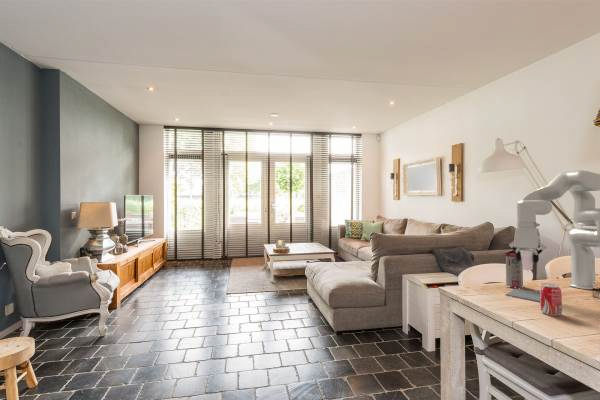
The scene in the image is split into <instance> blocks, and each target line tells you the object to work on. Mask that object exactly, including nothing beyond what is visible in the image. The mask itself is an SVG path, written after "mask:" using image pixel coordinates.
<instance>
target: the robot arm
mask: <svg viewBox="0 0 600 400" xmlns="http://www.w3.org/2000/svg"><path fill="white" fill-rule="evenodd" d="M568 191H569V192H570V195H571V196H572V197H573V214H572V215H573V216H572V217H573V218H572V219H573V223H574V224H575V225H578V226H582V227H574V228H572V229H570V230H569V231H568V235H567V237H568V242H569V246H570V262H571V263H570V264H571V265H570V268H571V270H570V271H571V272H570V273H571V281H569V282H567V285H568V286H569V287H573V288H575V289H576V288H577V289H582V290H590V289H591V290H590V291H593V290H592V289H593V284H594V282H595V283H596V256H595V252H594V250H593V249H592V248H598V249H599V248H600V208H599V207H598V208H597V207H596V198H595V196H594V194H592V193H591V192H592V191H593V192H599V191H600V174H599V173H596V172H593V171H589V170H581V169H580V170H570V171H562V172H559V173H558V174H557V175H556V176H554V177H553V178H552V180H551V181H549V182H548V183H547V184H546V185H544V186H543V187H540V188H538V189H536V190H533V191H532V192H529V193H528V194H526V195H524V197H522V198H521V200H519V201H517V203H516V218H517V219H516V220H517V222H516V223H517V225H516V226H517V227H515V231H514V238H513V239H514V240H513V241H512V242H510V243H509V244H508V246H509V248H511V250H512V249H513V250H514V251H515V252H516V258H517V259H518V261H520V260H521V254H520V252H519V251H520V249H530V250H533V251H534V260H533V264H534V263H535V264H536V263H538V262H539V259H540V258H539V256H540V255H541V253H542V252H544V251H545V250H546V249H547V246H546V245H545V244H543V243H542V242H541V236H540V235H541V234H540V229H539V228H537V227H540V225H541V224H540V223H537V216H545V215H549V214H550V213H552V210H553V206H552V203H551V201H555V200H558V199H560V198H562V197H563V196H564V195H565V193H567V192H568ZM585 226H586V227H588V228H586V227H585ZM589 227H596V228H589ZM514 246H515V247H514Z"/></svg>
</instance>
